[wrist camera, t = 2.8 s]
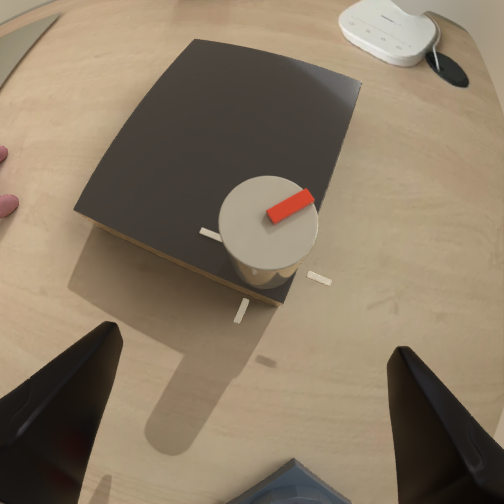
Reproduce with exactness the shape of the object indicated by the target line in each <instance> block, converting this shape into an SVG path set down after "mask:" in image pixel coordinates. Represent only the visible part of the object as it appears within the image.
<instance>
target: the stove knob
mask: <svg viewBox="0 0 504 504" xmlns="http://www.w3.org/2000/svg"><path fill="white" fill-rule="evenodd" d="M314 201H315V199H314V198H313V197H312V195H311V194H310V192H309V191H308V190H307V188H305V189H304V190H303V189H302V188H301V187H299V186H298V185H297V184H295V183H293V182H291V181H289V180H287V179H284V178H281V177H276V176H260V177H255V178H252V179H249V180H246V181H244V182H242V183H241V184H239V185H238V186H236V187H235V188H234V189H233V190H232V191H231V192H230V193H229V194H228V196H227V197H226V198H225V200H224V202H223V204H222V206H221V209H220V212H219V218H218V228H219V234H220V237H221V240H222V242H223V245H224V247H225V249H226V252H227V254H228V256H229V258H230V261H231V263H232V265H233V268H234V270H235V272H236V274H237V275H238V276H239V278H240V279H241V280H242V281H243V282H245V283H246V284H248V285H249V286H251V287H254V288H257V289H272V288H276V287H279V286H281V285H282V284H284V283H285V282H287V281H288V280H289V279H290V277H291V276H292V275H293V274H294V272H295V271H296V269H297V268H298V267H299V265H300V264H301V263H302V261H303V260H304V259H305V257H306V256H307V254H308V253H309V252H310V250H311V249H312V247H313V245H314V243H315V241H316V238H317V234H318V228H319V220H318V214H317V211H316V208H315V205H314Z"/></svg>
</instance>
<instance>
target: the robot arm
mask: <svg viewBox="0 0 504 504" xmlns="http://www.w3.org/2000/svg"><path fill="white" fill-rule="evenodd" d="M122 347H123V339H122V336H121V333H120V330H119V327H118V325H117V324H116V323H115V322H109V321H105V322H103V323H101V324H100V325H99V326H97V327H96V328H95V329H93V330H92V331H91V332H89V333H88V334H87V335H85V336H84V337H82V338H81V339H80V340H78V341H77V342H76V343H74V344H73V345H72V346H70V347H69V348H68V349H66V350H65V351H64V352H62V353H61V354H60V355H58V356H57V357H56V358H55V359H53V360H52V361H51V362H49V363H48V364H47V365H45V366H44V367H43V368H41V369H40V370H39V371H38V372H36V373H35V374H34V375H32V376H31V377H30V379H27V380H26V381H25V382H23V383H22V384H21V385H19V386H18V387H17V388H15V389H14V390H13V391H11V392H10V393H8V394H7V395H5V396H4V397H2V398H1V399H0V504H78V500H79V496H80V492H81V488H82V482H83V479H84V476H85V472H86V468H87V465H88V461H89V458H90V454H91V451H92V447H93V444H94V441H95V437H96V434H97V431H98V428H99V425H100V422H101V419H102V416H103V413H104V410H105V407H106V404H107V401H108V398H109V395H110V392H111V389H112V386H113V383H114V379H115V375H116V371H117V367H118V363H119V359H120V355H121V351H122ZM387 379H388V397H389V411H390V418H391V426H392V433H393V441H394V450H395V460H396V471H397V484H398V502H399V504H504V449H503V448H502V447H501V446H500V445H499V444H498V443H497V442H495V440H494V439H493V438H492V437H491V436H490V435H489V434H488V433H487V432H486V431H485V430H484V429H483V428H482V427H481V426H480V424H479V423H478V422H477V421H476V420H475V419H474V418H473V416H471V414H470V413H469V412H468V411H467V410H466V408H465V407H464V406H463V405H462V404H461V403H460V402H459V401H458V399H457V398H456V397H455V396H454V395H453V394H452V393H451V392H450V390H449V389H448V388H447V387H446V386H445V385H444V384H443V383H442V382H441V380H440V379H439V378H438V377H437V376H436V375H435V374H434V373H433V372H432V371H431V370H430V369H429V367H428V366H427V365H426V364H425V363H424V362H423V361H422V360H421V359H420V358H419V357H418V356H417V355H416V354H415V352H414V351H413V350H412V349H411V348H410V347H408V346H398V347H397V348H396V349H395V350H394V352H393V354H392V355H391V357H390V359H389V361H388V363H387Z"/></svg>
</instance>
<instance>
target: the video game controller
mask: <svg viewBox="0 0 504 504" xmlns="http://www.w3.org/2000/svg"><path fill="white" fill-rule="evenodd" d="M7 155H8V150H7V148H5V147H4V146H0V162H1V161H3V160H4V159H5V158H6V157H7ZM18 205H19V200H18V198H17V197H16V196H14V195H2V196H0V218H3V217H5V216H7V215H8V214H10V213H11V212H13V211H14V210H15V209H16V207H17V206H18Z"/></svg>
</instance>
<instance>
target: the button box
mask: <svg viewBox="0 0 504 504" xmlns="http://www.w3.org/2000/svg"><path fill="white" fill-rule="evenodd" d="M227 504H352V503H351V501H350V500H348V499H347V498H345V497H344V496H343V495H341V494H340V493H338V492H337V491H336V490H334V489H333V488H332V487H330V486H329V485H328V484H326V483H325V482H324V481H322V480H321V479H320V478H318V477H317V476H316V475H315V474H313V473H312V472H311V471H309V470H308V469H307V468H306V467H304V466H303V465H302V464H301V463H300V462H298V461H297V460H296V459H295V458H293V459H292V460H291V461H289V462H288V463H287V464H285V465H284V466H283V467H281V468H280V469H279V470H277V471H276V472H274V473H273V474H272V475H270V476H269V477H267V478H266V479H264V480H263V481H261V482H260V483H258V484H257V485H255V486H254V487H252V488H251V489H249V490H248V491H246V492H245V493H243V494H241V495H240V496H238V497H237V498H235V499H233V500H232V501H230V502H228V503H227Z"/></svg>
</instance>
